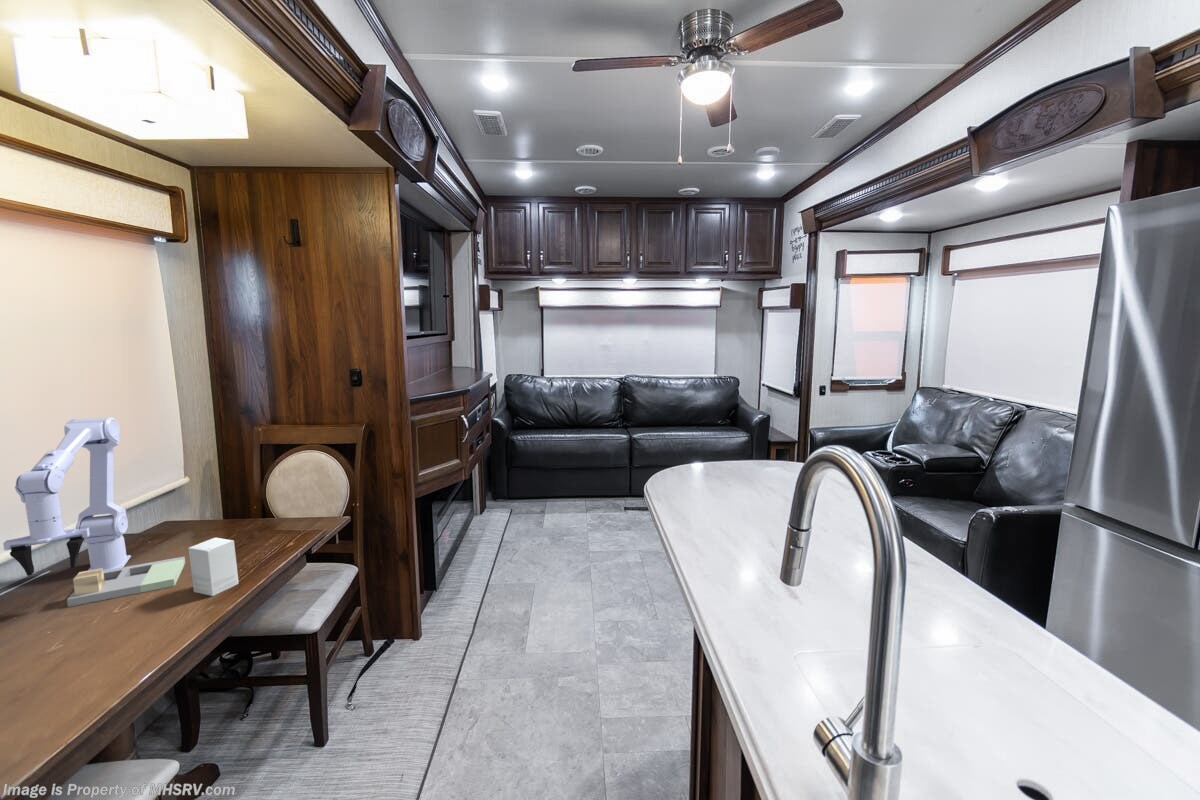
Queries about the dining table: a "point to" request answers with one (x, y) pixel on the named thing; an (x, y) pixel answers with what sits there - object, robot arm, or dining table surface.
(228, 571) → the supplement box
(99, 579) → the maple block
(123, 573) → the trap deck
